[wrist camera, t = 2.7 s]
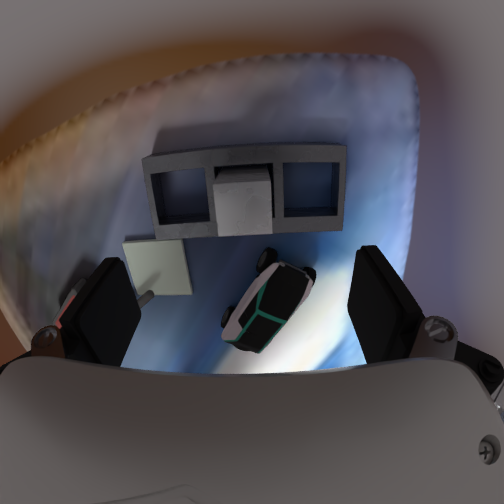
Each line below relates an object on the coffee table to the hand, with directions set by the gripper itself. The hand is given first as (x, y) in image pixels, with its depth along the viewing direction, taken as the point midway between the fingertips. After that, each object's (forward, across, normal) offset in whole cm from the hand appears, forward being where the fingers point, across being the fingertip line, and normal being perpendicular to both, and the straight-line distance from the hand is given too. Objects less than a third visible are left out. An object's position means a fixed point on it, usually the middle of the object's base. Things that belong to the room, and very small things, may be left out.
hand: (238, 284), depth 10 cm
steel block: (+17, 0, +1) cm, 17 cm away
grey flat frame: (+17, 0, +1) cm, 17 cm away
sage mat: (+16, +11, +9) cm, 22 cm away
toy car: (+17, -1, +14) cm, 22 cm away
